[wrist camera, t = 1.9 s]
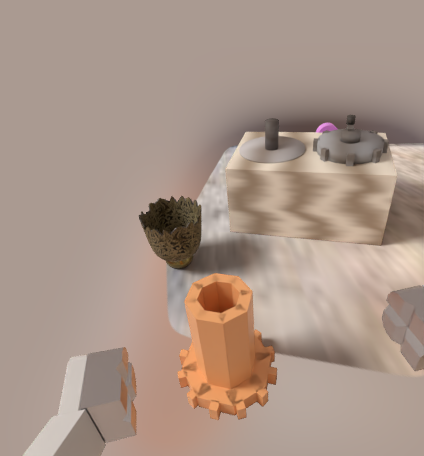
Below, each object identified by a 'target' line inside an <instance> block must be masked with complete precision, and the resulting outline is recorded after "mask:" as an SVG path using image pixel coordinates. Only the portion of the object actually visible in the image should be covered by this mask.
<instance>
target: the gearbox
mask: <svg viewBox="0 0 424 456" xmlns="http://www.w3.org/2000/svg"><path fill="white" fill-rule="evenodd" d="M354 123H355V115H348V116H347V123H346V124H347V125H348V126H347V128H346V129H338V130H332V131H328V130H326V131H323V133H313V132H312V133H311V132H279V120H278V119H267V120H265V132H246V133H245V134H244V136H243V138H242V140H241V142H240V144H239V145H238V147H237V149H236V151H235V152H234V154H233V156H232V158H231V160H230V161H229V163H228V165H227V167H226V169H225V172H226V184H227V196H228V208H229V220H230V232H240V233H251V234H262V235H273V236H284V237H295V238H306V239H317V240H327V241H338V242H349V243H360V244H371V245H381V244H382V239H383V235H384V231H385V227H386V222H387V218H388V214H389V210H390V205H391V201H392V197H393V192H394V188H395V184H396V180H397V172H396V169H395V165H394V162H393V158H392V155H391V151H390V148H389V140H388V139H387V137H386V134H385V133H377V132H376V131H366V130H358V129H354V127H353V125H354Z"/></svg>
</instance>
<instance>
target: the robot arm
mask: <svg viewBox="0 0 424 456" xmlns="http://www.w3.org/2000/svg"><path fill="white" fill-rule="evenodd" d="M386 301H387V302H388V303H389V304H390V305H389V306H388V307H387V308H386V309H385V310H384V311H383V315H382V321H383V326H384V328H385V330H386V333H387V334H388V336H389V337H390V338H391V340H393V341H395V342H396V343H398V344H400V345H401V353H402V355H403V356H404V357H405V359H406V360H407V361H408V363H409V364H410V365H411V367H412V368H413V370H414V371H417V370H422V369H424V285H422V286H415V287H411V288H406V289H402V290H397V291H392V292H391V293H390V294H388V297H387V300H386ZM135 380H136V379H135V373H134V369H133V366H132V364H131V363H130V362H128V352H127V350H126V348H125V347H124V348H118V349H113V350H107V351H101V352H96V353H90V354H85V355H80V356H75V357H71V358H70V360H69V362H68V366H67V370H66V376H65V381H64V387H63V392H62V396H61V402H60V407H59V412H58V415H56V416H53V417H52V418H51V419H50V420H49V421H48V423H47V424H46V425H45V427H44V428H43V429H42V431H41V432H40V434H39V435H38V436H37V437H36V439H35V440H34V441H33V443H32V444H31V445H30V447H29V448H28V449H27V450H26V452H25V453H24V454H23V456H100V455H101V454H102V452H103V450H104V448H105V446H106V444H105V443H108V442H112V441H115V440H119V439H123V438H127V437H131V436H135V435H136V409H135V407H134V404H133V400H134V399H135V397H136V381H135Z"/></svg>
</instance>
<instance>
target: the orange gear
mask: <svg viewBox="0 0 424 456" xmlns="http://www.w3.org/2000/svg"><path fill="white" fill-rule="evenodd" d="M184 302H185V307H186V312H187V317H188V322H189V326H190V331H191V337H192V344H191V346H190V349H189V351H188V350H183V349H182V350H181V353H180V355H179V357H180V360H181V364H182V365H183V367H182V371H178V378H179V382H180V385H181V388H183V387H186V386H189V388H190V391H189V392H188V393H187V397H188V401H189V404H190V405H191V406H192V407H193V408H194V409H195V408H196V407H197V406H198V405H199V407H203V408H207V409H209V413H210V417H211V418H212V419H216V420H219V416H220V413H221V412H223V413H227V414H232V415H236V414H237V417H238V419H242V418H246V408H247V407H249V406H251V405H252V404H253V403H255V402H258V403H259V404H260V405H261V406H264V405H265V404H266V403H267V402H268V391H267V385H268V383H270V384H274V385H276V379H277V368H274V367H271V362H274V356H275V352H274V349H273V347H272V346H268V347H264V345H263V344H262V338H261V333H260V332H259V331H258V330H255V331H254V317H253V293H252V290H251V289H250V288H249V287H248V286H247V285H246V284H245V283H244V282H243V281H242V280H241V279H240V277H239V276H232V275H225V274H217V273H214V274H212V275H209V276H207V277H205V278H203V279H201V280H198V281H196V282H194V283H193V284H192V286H191V288H190V290H189V292H188V295H187V297H186V299H185V301H184Z"/></svg>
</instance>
